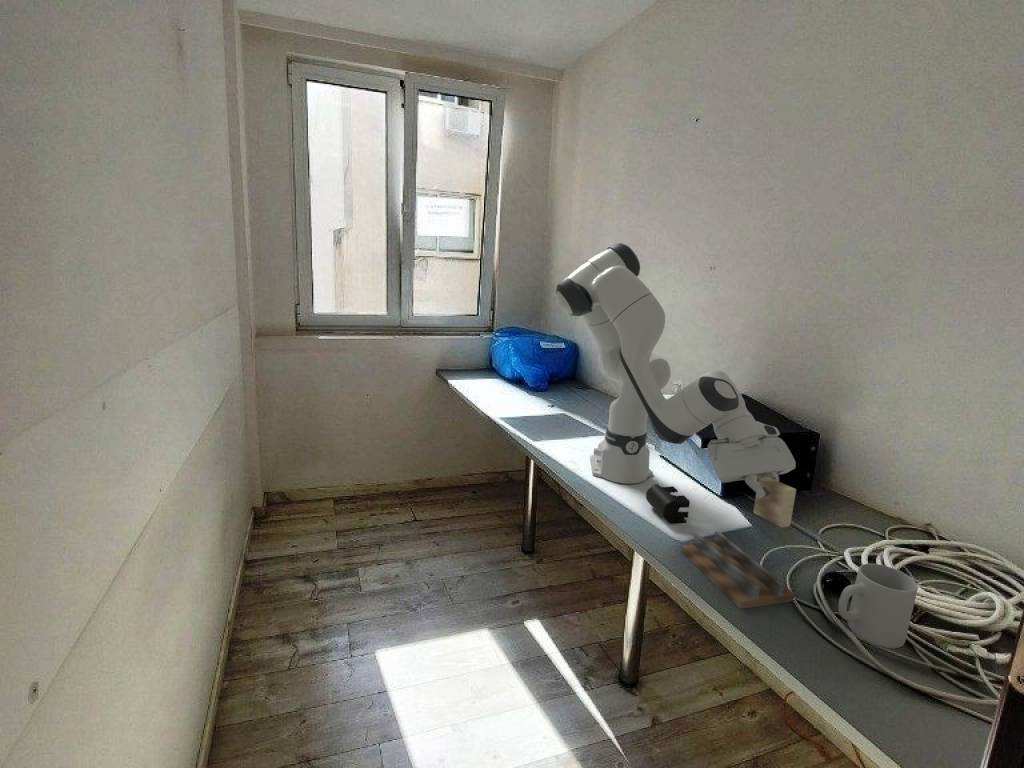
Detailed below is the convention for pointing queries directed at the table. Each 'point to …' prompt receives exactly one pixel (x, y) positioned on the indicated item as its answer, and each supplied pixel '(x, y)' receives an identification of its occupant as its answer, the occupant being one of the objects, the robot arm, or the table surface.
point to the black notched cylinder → (668, 503)
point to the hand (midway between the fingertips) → (771, 495)
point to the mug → (879, 605)
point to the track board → (736, 572)
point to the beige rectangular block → (775, 502)
